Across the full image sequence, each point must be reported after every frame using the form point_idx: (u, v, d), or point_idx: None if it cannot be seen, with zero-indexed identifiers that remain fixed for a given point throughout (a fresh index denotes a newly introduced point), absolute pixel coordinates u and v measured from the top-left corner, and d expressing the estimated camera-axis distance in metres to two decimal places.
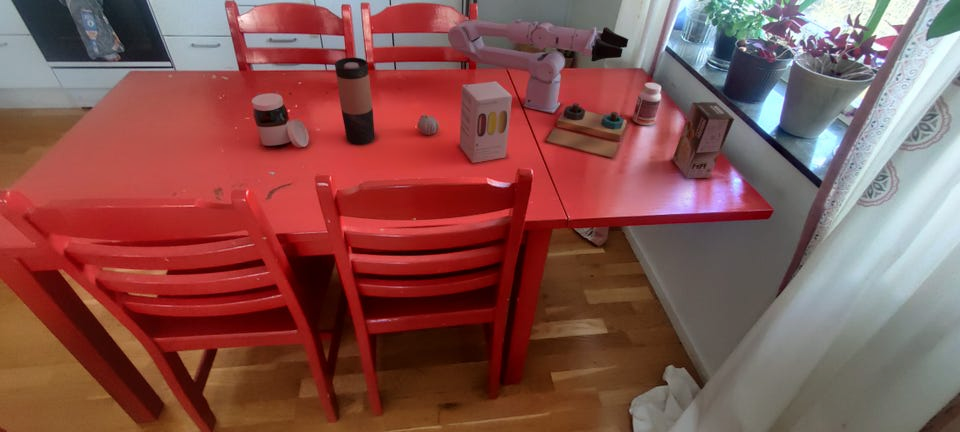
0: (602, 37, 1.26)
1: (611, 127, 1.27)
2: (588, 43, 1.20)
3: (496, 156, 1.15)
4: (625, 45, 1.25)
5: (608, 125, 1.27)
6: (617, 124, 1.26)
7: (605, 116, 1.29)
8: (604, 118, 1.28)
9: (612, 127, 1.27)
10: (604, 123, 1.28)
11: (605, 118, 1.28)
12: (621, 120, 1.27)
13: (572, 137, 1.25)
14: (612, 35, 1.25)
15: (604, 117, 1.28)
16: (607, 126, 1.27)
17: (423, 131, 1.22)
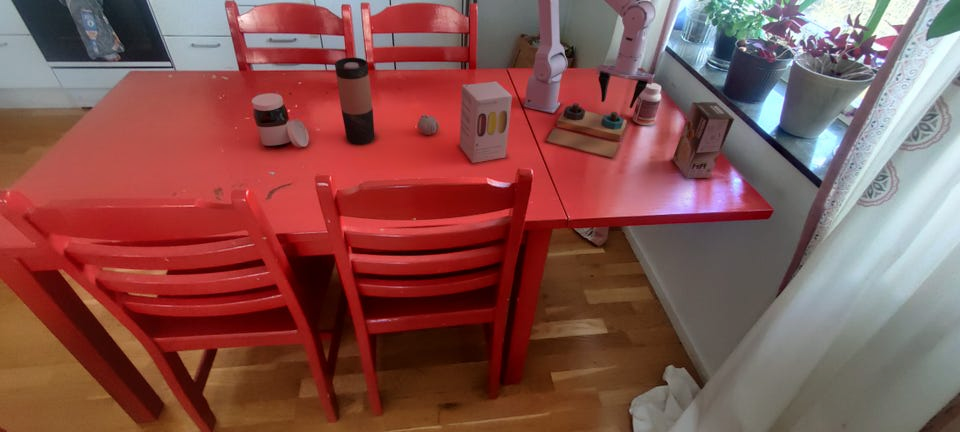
0: (637, 82, 1.19)
1: (611, 127, 1.27)
2: (605, 70, 1.20)
3: (496, 156, 1.15)
4: None
5: (608, 125, 1.27)
6: (617, 124, 1.26)
7: (605, 116, 1.29)
8: (604, 118, 1.28)
9: (612, 127, 1.27)
10: (604, 123, 1.28)
11: (605, 118, 1.28)
12: (621, 120, 1.27)
13: (572, 137, 1.25)
14: (634, 93, 1.20)
15: (604, 117, 1.28)
16: (607, 126, 1.27)
17: (423, 131, 1.22)
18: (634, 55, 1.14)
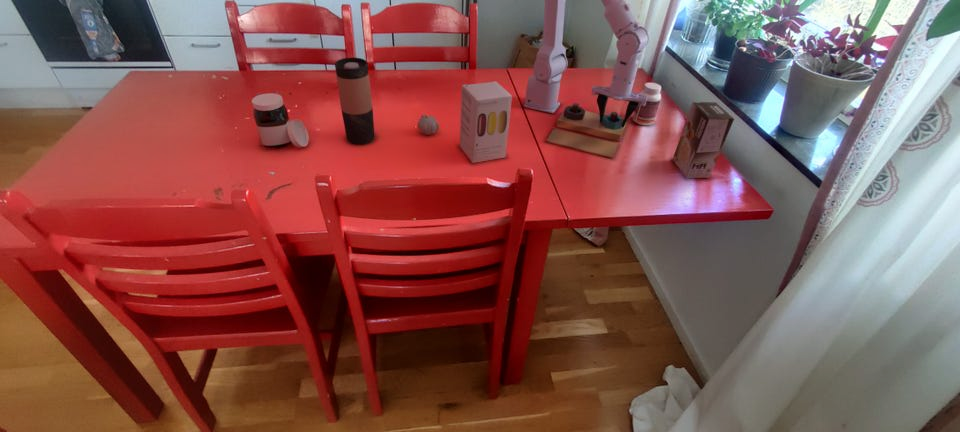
0: (628, 103, 1.23)
1: (611, 127, 1.27)
2: (600, 91, 1.24)
3: (496, 156, 1.15)
4: None
5: (608, 125, 1.27)
6: (617, 124, 1.26)
7: (605, 116, 1.29)
8: (604, 118, 1.28)
9: (612, 127, 1.27)
10: (604, 123, 1.28)
11: (605, 118, 1.28)
12: (621, 120, 1.27)
13: (572, 137, 1.25)
14: None
15: (604, 117, 1.28)
16: (607, 126, 1.27)
17: (423, 131, 1.22)
18: (628, 78, 1.18)
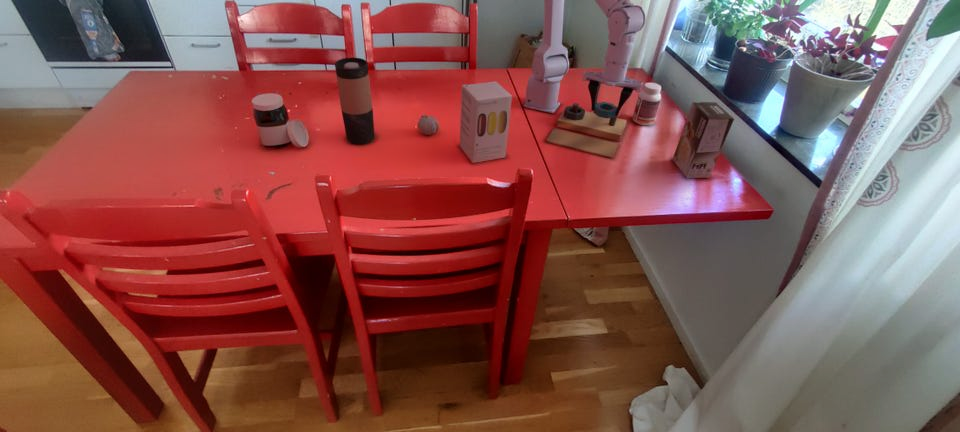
0: None
1: (604, 116, 1.17)
2: (592, 77, 1.14)
3: (496, 156, 1.15)
4: None
5: (601, 114, 1.17)
6: (610, 112, 1.17)
7: (597, 104, 1.20)
8: (596, 106, 1.19)
9: (605, 116, 1.17)
10: (596, 111, 1.18)
11: (597, 106, 1.19)
12: (615, 108, 1.18)
13: (572, 137, 1.25)
14: (619, 100, 1.15)
15: (596, 105, 1.19)
16: (600, 115, 1.18)
17: (423, 131, 1.22)
18: (617, 61, 1.08)
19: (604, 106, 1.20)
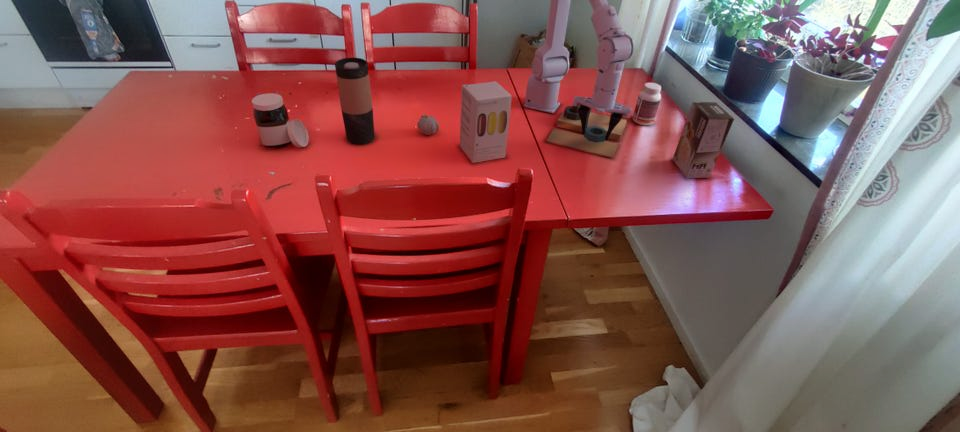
0: (612, 115, 1.16)
1: (594, 140, 1.19)
2: (582, 102, 1.16)
3: (496, 156, 1.15)
4: None
5: (591, 138, 1.19)
6: (600, 137, 1.18)
7: (588, 128, 1.21)
8: (587, 130, 1.20)
9: (595, 140, 1.19)
10: (587, 136, 1.20)
11: (588, 130, 1.20)
12: (605, 132, 1.20)
13: (572, 137, 1.25)
14: (609, 125, 1.17)
15: (587, 129, 1.21)
16: (590, 139, 1.19)
17: (423, 131, 1.22)
18: (605, 88, 1.10)
19: (594, 130, 1.22)
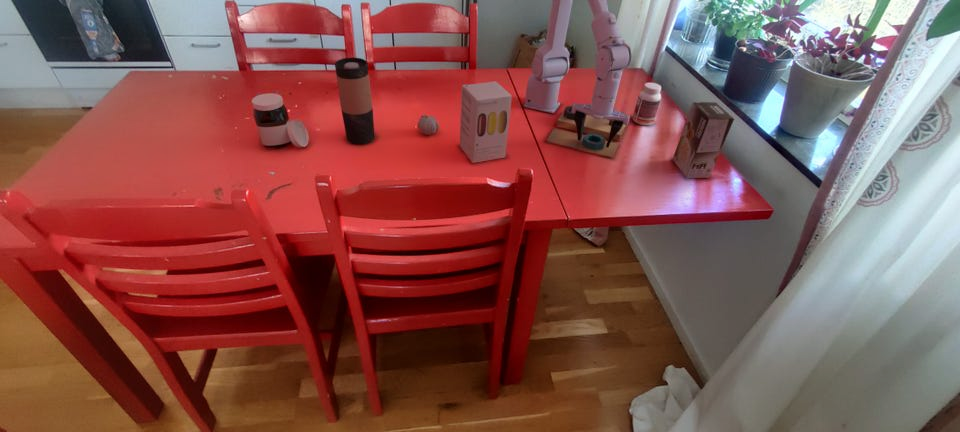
0: (613, 122, 1.17)
1: (592, 148, 1.20)
2: (580, 109, 1.17)
3: (496, 156, 1.15)
4: None
5: (589, 146, 1.20)
6: (598, 145, 1.20)
7: (586, 136, 1.23)
8: (585, 138, 1.22)
9: (593, 148, 1.20)
10: (585, 143, 1.21)
11: (586, 138, 1.22)
12: (603, 140, 1.21)
13: (572, 137, 1.25)
14: None
15: (585, 137, 1.22)
16: (588, 147, 1.21)
17: (423, 131, 1.22)
18: (603, 96, 1.11)
19: (592, 138, 1.24)
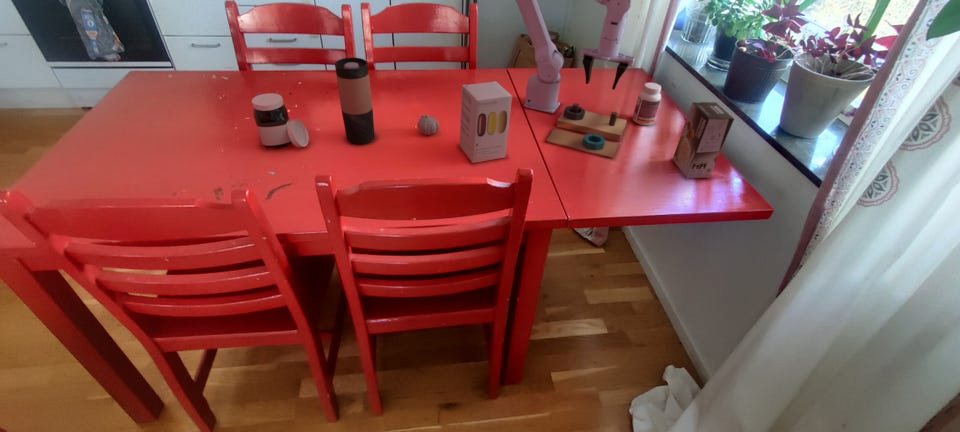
0: (619, 64, 1.26)
1: (592, 148, 1.20)
2: (588, 53, 1.27)
3: (496, 156, 1.15)
4: None
5: (589, 146, 1.20)
6: (598, 145, 1.20)
7: (586, 136, 1.23)
8: (585, 138, 1.22)
9: (593, 148, 1.20)
10: (585, 143, 1.21)
11: (586, 138, 1.22)
12: (603, 140, 1.21)
13: (572, 137, 1.25)
14: None
15: (585, 137, 1.22)
16: (588, 147, 1.21)
17: (423, 131, 1.22)
18: (619, 38, 1.21)
19: (592, 138, 1.24)
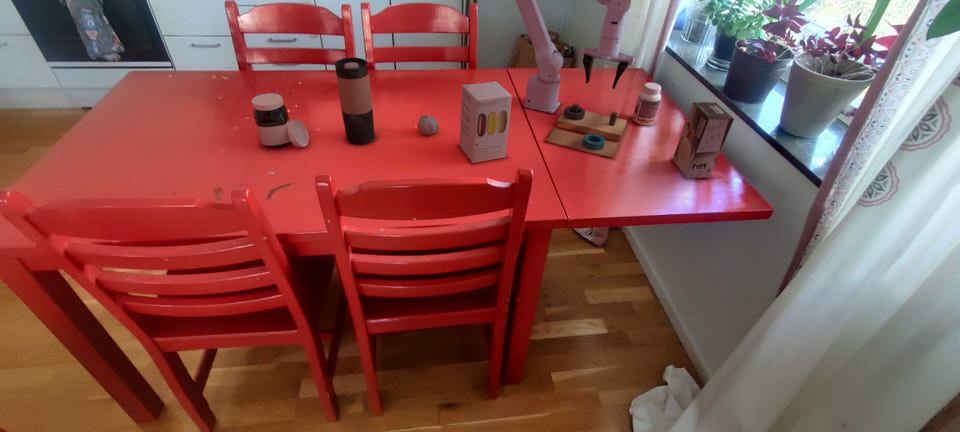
0: (619, 64, 1.26)
1: (592, 148, 1.20)
2: (589, 52, 1.27)
3: (496, 156, 1.15)
4: None
5: (589, 146, 1.20)
6: (598, 145, 1.20)
7: (586, 136, 1.23)
8: (585, 138, 1.22)
9: (593, 148, 1.20)
10: (585, 143, 1.21)
11: (586, 138, 1.22)
12: (603, 140, 1.21)
13: (572, 137, 1.25)
14: None
15: (585, 137, 1.22)
16: (588, 147, 1.21)
17: (423, 131, 1.22)
18: (619, 37, 1.21)
19: (592, 138, 1.24)
